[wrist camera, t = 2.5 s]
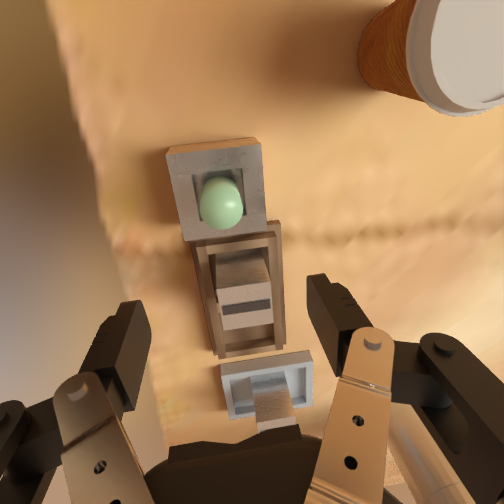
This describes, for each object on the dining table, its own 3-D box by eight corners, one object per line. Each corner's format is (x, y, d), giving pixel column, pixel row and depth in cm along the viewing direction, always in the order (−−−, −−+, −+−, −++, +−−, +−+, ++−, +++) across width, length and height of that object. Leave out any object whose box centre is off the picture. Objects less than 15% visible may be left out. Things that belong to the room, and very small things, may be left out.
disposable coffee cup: (357, -30, 24) (471, -125, 14) (460, -6, 26) (633, -74, 15) (328, 101, 28) (397, 106, 18) (417, 115, 30) (530, 127, 19)
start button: (236, 173, 26) (240, 186, 23) (240, 209, 28) (245, 226, 24) (198, 178, 26) (196, 191, 23) (204, 214, 28) (203, 232, 24)
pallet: (278, 220, 33) (283, 229, 31) (284, 338, 42) (288, 352, 40) (189, 232, 33) (187, 241, 31) (213, 349, 41) (213, 364, 39)
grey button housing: (254, 137, 29) (260, 143, 25) (260, 214, 33) (267, 230, 29) (171, 146, 28) (165, 154, 25) (187, 223, 32) (184, 241, 28)
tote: (309, 350, 44) (313, 361, 42) (308, 394, 48) (312, 405, 47) (220, 364, 43) (220, 376, 41) (229, 408, 48) (229, 420, 46)
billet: (283, 370, 44) (296, 417, 38) (285, 393, 46) (296, 439, 40) (250, 376, 44) (256, 423, 37) (253, 398, 46) (259, 446, 40)
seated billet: (259, 247, 34) (271, 282, 27) (262, 283, 36) (273, 323, 30) (215, 253, 33) (216, 290, 27) (221, 289, 36) (223, 331, 29)
